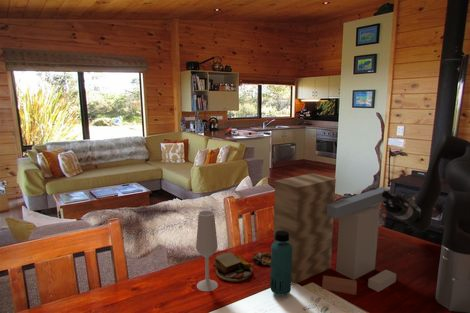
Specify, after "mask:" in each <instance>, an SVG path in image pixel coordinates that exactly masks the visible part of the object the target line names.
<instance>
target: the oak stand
mask: <svg viewBox="0 0 470 313" xmlns="http://www.w3.org/2000/svg"><path fill="white" fill-rule="evenodd" d="M336 180H337V179H336V178H333V177H328V176H325V175H321V174H317V173H313V172H311V173H307V174H302V175H297V176H293V177H288V178H287V177H286V178H281V179H278V180H277V179H276V180H274V202H273V203H274V206H273V207H274V208H273V242H272V244H273V243H274V242H276V241H277V240H275V234H276V232H277V231H280V230H283V231H287V232H288V233H289V241H287V242H288V243H290V244H291V245H292V265H291V269H292V270H291V271H292V272H291V282H292V283H296V284H298V283H301V282H303V281H305V280H307V279H309V278H312V277H314V276H316V275H318V274H320V273H322V272H325V271H327V270H329V269H331V268H332V267H331V264H332V248H333V247H332V246H333V230H334V218H332V217H329V216H327V205H328V204H331V203H334V202H335V197H336V196H335V195H336ZM292 283H291V284H292Z"/></svg>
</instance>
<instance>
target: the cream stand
mask: <svg viewBox="0 0 470 313" xmlns="http://www.w3.org/2000/svg"><path fill="white" fill-rule="evenodd" d="M380 213H381V212H380V207H376V206H374V205H372V206H370V207H367V208H364V209H361V210H359V211H356V212H353V213H351V214H348V215H345V216H342V217H340V218H338V220H339V221H338V235H337V252H336V264H335V265H336V266H335V271H336V272H337V273H339V274H341V275H343V276H344V277H345V276H346V277H347V278H349V279H350V280H355V281H356V279H359V278H360V277H362V276H365V275H367V274H368V273H370V272H372V271H374V270H375V269H376V262H377V260H376V259H377V258H376V257H377V249H378V237H379V236H378V235H379V223H380V222H379V221H380Z"/></svg>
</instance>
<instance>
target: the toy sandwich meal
mask: <svg viewBox="0 0 470 313" xmlns="http://www.w3.org/2000/svg"><path fill="white" fill-rule="evenodd" d="M251 263H252V262H251ZM251 263H249V262H248V261H246V260H245V259H243V257H241V256H240V255H237V256H236V255H234V253H233V252H224V253H221V254H219V255H216V257H215V259H214V261H213V263H212V266H213V268H215V274H216V275H217V277H219V278H220V279H222V280H224V281H227V282H233V283H234V282H235V283H237V282H242V281H245V280H247V279H249V278H250V277H251V276H252V275H253V268H252V264H251Z"/></svg>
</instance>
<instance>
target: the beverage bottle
mask: <svg viewBox="0 0 470 313" xmlns="http://www.w3.org/2000/svg"><path fill="white" fill-rule="evenodd" d="M275 240H277V241H276V242H274V243H273V242H272V244H271V245H270V246H271V248H270V250H271V251H270V252H271V254H270V255H271V267H270V277H269V278H270V282H269V285H270V286H269V288H270V291H271V292H272V293H273V294H274V295H278V296H287V295H288V294H290V293H291V290H292V283H291V272H292V271H291V270H292V269H291V265H292V245H291V244H290V243H288V242H287V241H289V233H288V232H287V231H283V230H280V231H277V232H276V234H275Z"/></svg>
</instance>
